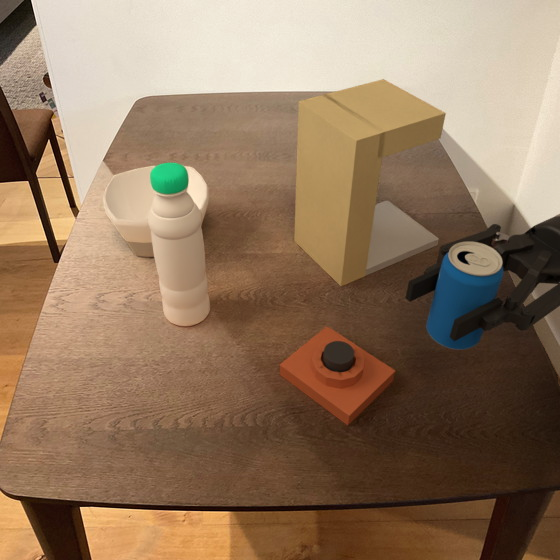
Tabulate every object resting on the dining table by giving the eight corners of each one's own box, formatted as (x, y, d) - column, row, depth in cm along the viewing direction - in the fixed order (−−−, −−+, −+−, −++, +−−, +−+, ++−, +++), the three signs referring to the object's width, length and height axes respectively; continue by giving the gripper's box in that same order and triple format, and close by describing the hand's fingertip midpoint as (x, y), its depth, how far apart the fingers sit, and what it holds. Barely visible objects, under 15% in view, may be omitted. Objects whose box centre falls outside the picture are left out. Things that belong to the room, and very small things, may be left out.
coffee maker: (437, 245, 102) (471, 105, 84) (340, 286, 93) (356, 140, 76) (386, 206, 110) (407, 72, 93) (294, 241, 102) (298, 100, 85)
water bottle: (214, 298, 91) (201, 156, 74) (205, 330, 86) (190, 186, 69) (170, 294, 91) (148, 153, 75) (159, 326, 86) (132, 182, 70)
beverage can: (433, 308, 73) (452, 233, 65) (484, 325, 71) (511, 248, 63) (419, 342, 69) (438, 266, 61) (473, 361, 67) (500, 284, 59)
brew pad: (393, 381, 79) (397, 361, 76) (347, 426, 73) (350, 407, 71) (325, 336, 85) (327, 317, 82) (279, 374, 80) (279, 355, 77)
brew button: (359, 360, 77) (360, 351, 76) (340, 377, 75) (341, 368, 74) (335, 344, 79) (336, 336, 78) (316, 361, 77) (317, 352, 76)
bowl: (112, 275, 95) (101, 229, 89) (111, 214, 108) (101, 170, 101) (220, 260, 98) (216, 214, 92) (206, 202, 111) (202, 159, 105)
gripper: (624, 310, 69) (489, 392, 60) (500, 227, 81) (371, 285, 72) (652, 262, 64) (508, 343, 55) (515, 182, 76) (379, 237, 67)
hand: (431, 310), depth 64 cm, fingers closed on beverage can, 6 cm apart
